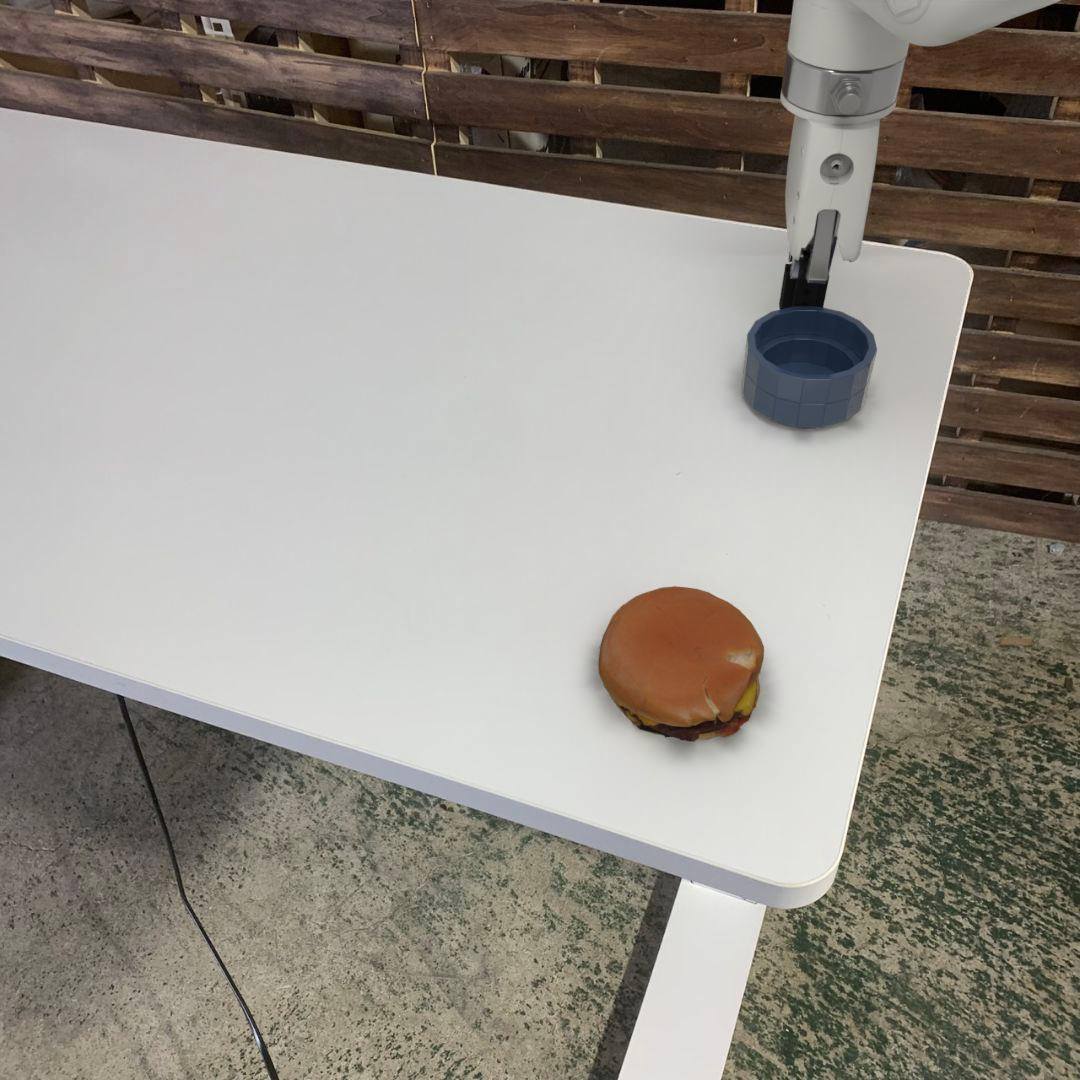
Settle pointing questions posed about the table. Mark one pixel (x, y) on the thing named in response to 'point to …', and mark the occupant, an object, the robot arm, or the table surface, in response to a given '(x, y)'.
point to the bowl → (808, 366)
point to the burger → (682, 663)
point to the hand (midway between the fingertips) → (799, 313)
